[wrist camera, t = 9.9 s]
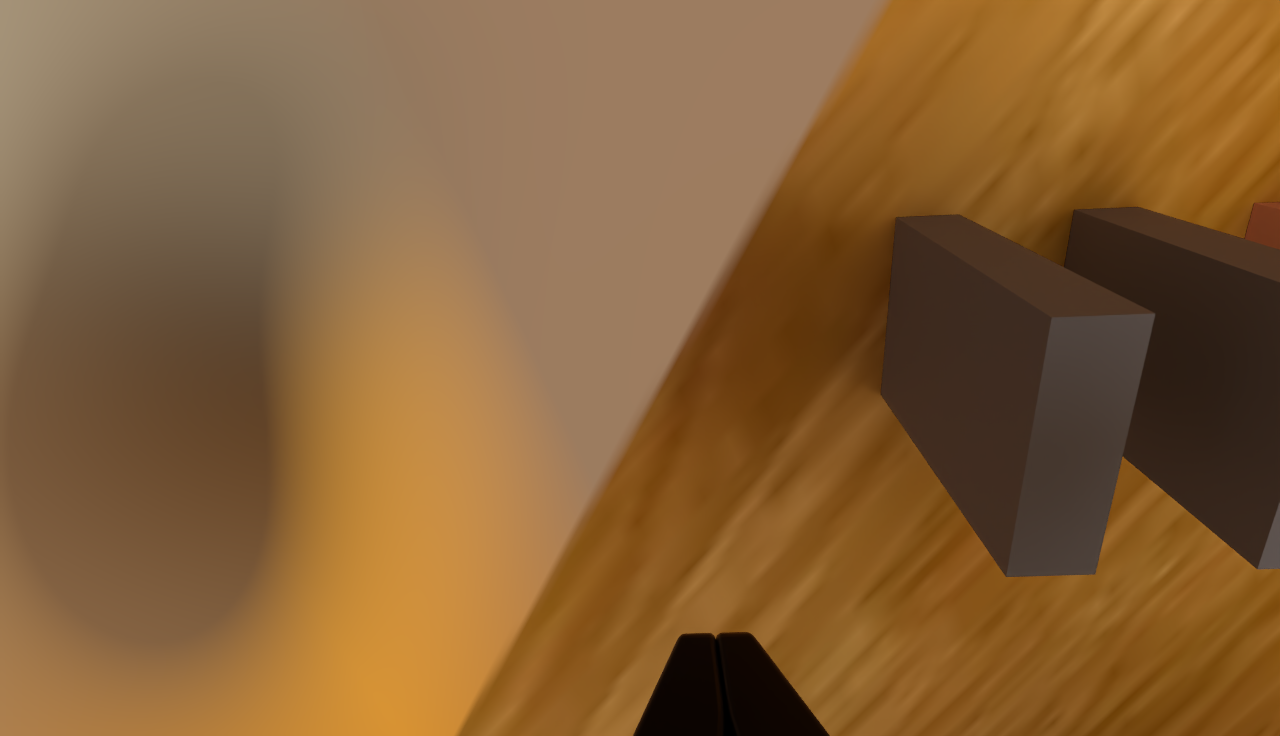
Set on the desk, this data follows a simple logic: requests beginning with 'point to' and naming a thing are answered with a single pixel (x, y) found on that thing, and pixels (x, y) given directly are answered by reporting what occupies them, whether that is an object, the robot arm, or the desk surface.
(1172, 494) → the domino
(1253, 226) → the domino
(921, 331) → the domino
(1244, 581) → the desk surface
